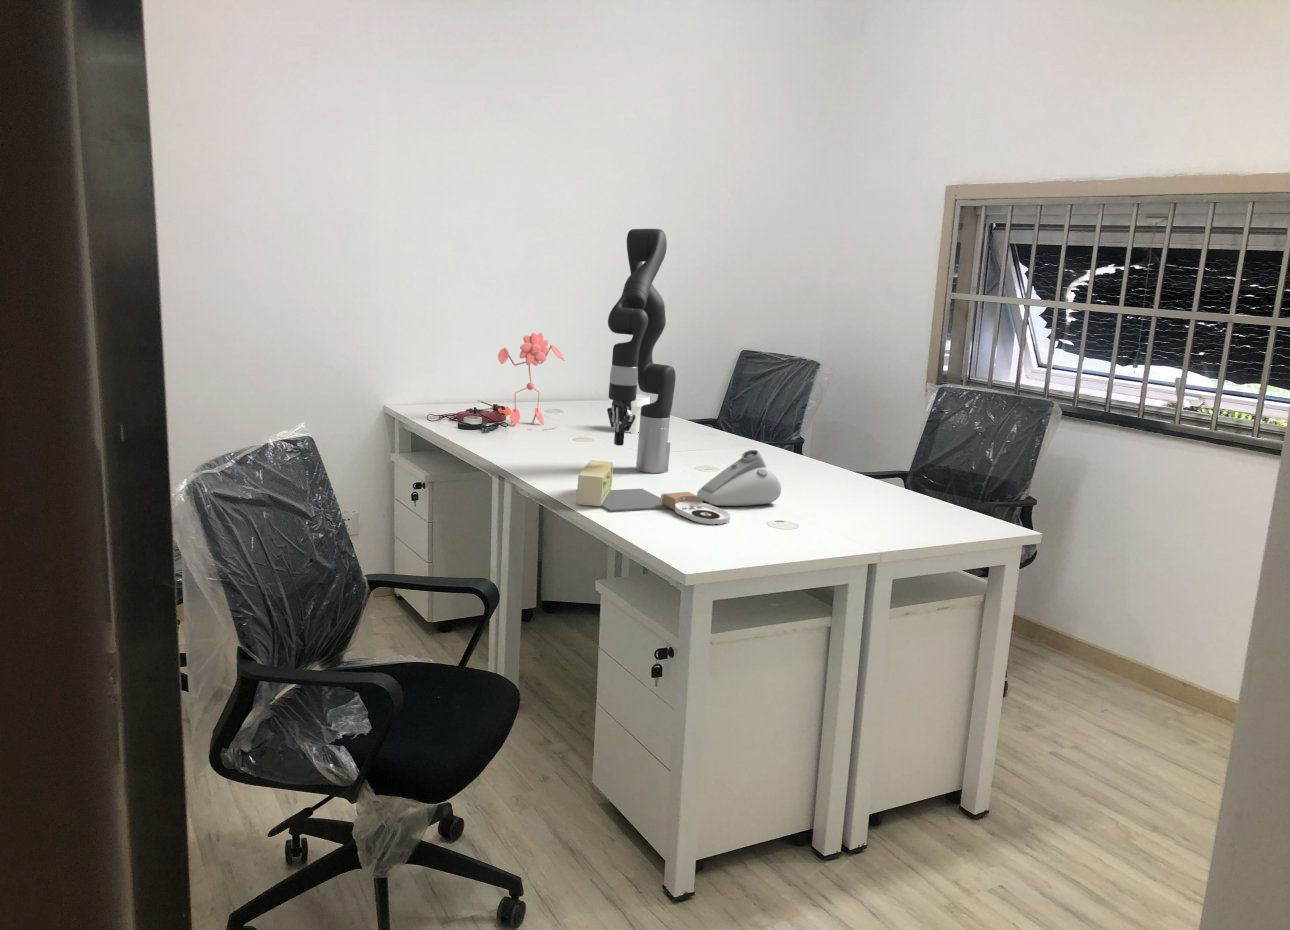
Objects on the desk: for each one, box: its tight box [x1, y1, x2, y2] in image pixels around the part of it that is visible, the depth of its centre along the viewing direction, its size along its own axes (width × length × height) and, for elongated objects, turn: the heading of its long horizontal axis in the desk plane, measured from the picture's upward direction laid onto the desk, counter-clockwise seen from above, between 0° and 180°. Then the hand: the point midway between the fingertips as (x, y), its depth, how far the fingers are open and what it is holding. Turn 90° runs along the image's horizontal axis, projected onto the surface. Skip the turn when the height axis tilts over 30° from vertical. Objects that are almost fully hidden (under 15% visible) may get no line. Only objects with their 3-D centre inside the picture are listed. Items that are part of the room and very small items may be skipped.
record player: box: [660, 490, 731, 525], centre depth 261 cm, size 12×3×20 cm
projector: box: [696, 449, 782, 507], centre depth 280 cm, size 22×23×15 cm
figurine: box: [497, 332, 565, 431], centre depth 368 cm, size 15×26×35 cm, turn 125°
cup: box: [626, 393, 651, 434], centre depth 377 cm, size 12×12×14 cm
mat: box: [599, 488, 672, 513], centre depth 270 cm, size 20×20×1 cm
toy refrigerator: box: [576, 459, 614, 507], centre depth 269 cm, size 8×7×21 cm
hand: (618, 444), depth 274 cm, fingers closed
